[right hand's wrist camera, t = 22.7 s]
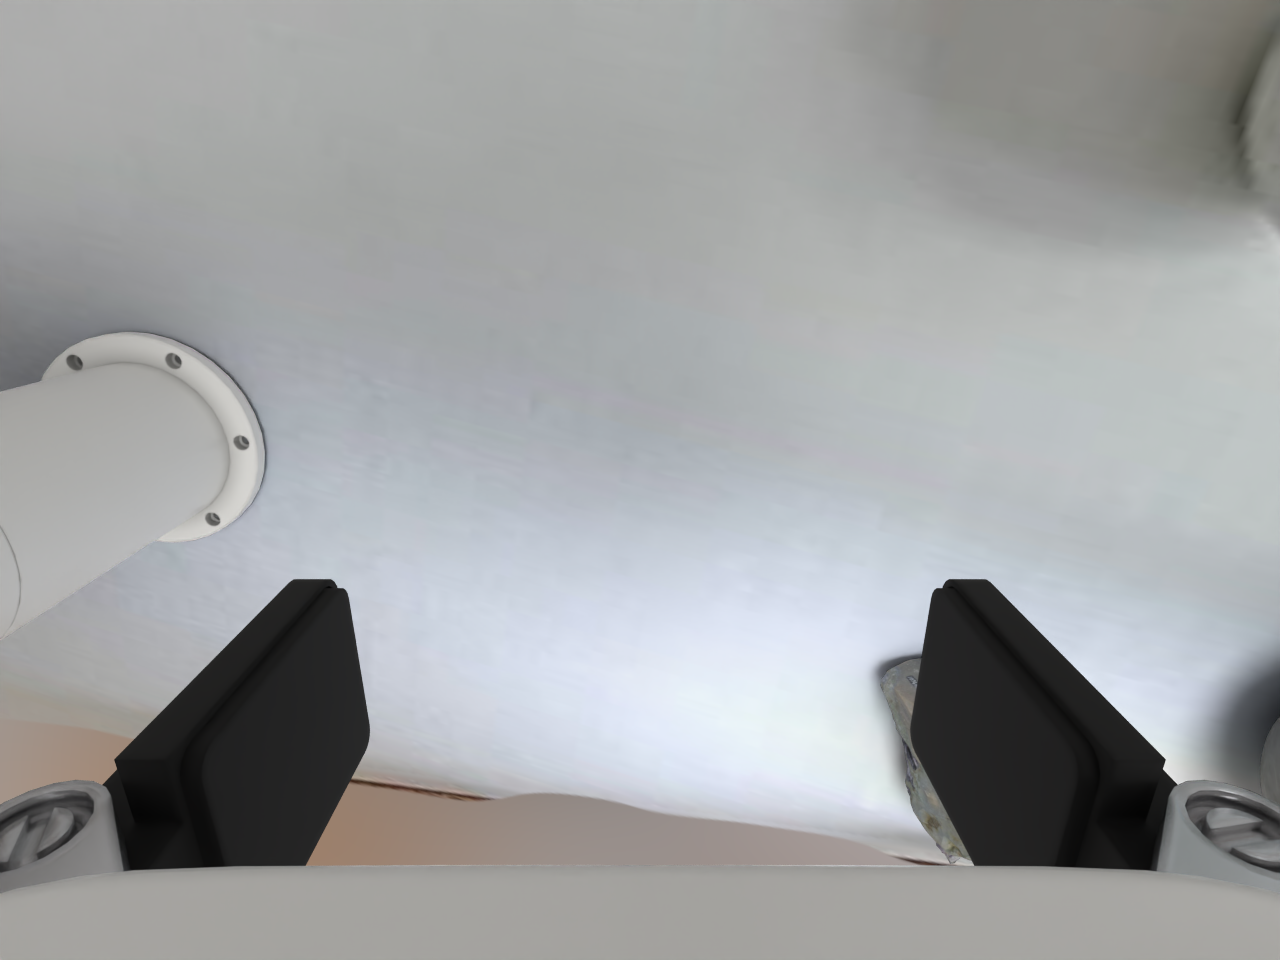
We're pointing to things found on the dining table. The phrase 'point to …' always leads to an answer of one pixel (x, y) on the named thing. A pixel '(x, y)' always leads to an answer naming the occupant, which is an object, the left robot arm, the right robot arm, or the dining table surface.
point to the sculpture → (1271, 764)
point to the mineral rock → (923, 796)
